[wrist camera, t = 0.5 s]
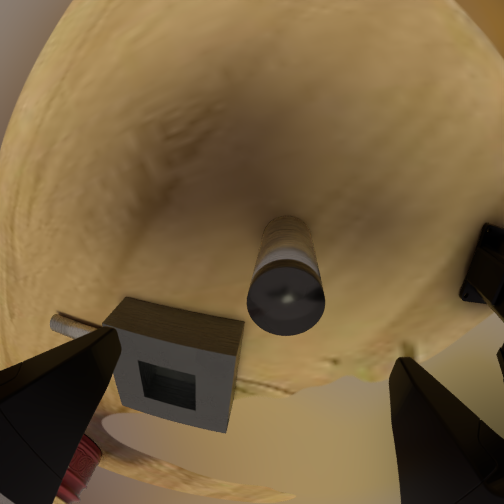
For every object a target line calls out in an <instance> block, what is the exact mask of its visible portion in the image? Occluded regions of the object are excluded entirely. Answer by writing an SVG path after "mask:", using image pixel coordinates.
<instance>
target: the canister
mask: <svg viewBox="0 0 504 504" xmlns="http://www.w3.org/2000/svg"><path fill="white" fill-rule="evenodd" d="M101 455H102V453H101V451H100V449H99V448H98V447H97V446H96V444H95V443H94V442H93V441H91V440H90V439H89V438H88V437H87V436H86V435H83V437H82V439H81V441H80V443H79V445H78V447H77V449H76V451H75V453H74V456H73V458H72V460H71V462H70V464H69V467H68V469H67V471H66V473H65V475H64V478H63V479H62V483H61V485H60V487H59V490H58V492H57V494H56V497H55V499H54V502H53V504H71V503H72V502H80V497H79V496H80V494H81V492H82V490H83V489H86V488H87V484H88V482H89V480H90V478H91V476H92V474H93V472H94V470H95V468H96V466H98V465H99V462H100V460H101Z"/></svg>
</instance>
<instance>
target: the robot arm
mask: <svg viewBox="0 0 504 504" xmlns="http://www.w3.org/2000/svg"><path fill="white" fill-rule="evenodd" d="M488 228H489V231H488V232H487V230H488ZM465 294H466V295H465ZM464 295H465V296H464ZM459 297H460V298H461V299H462V300H463V301H467V302H475V303H483V304H488V305H489V307H490V308H491V309H492V310H493V311H494V312H495V313H496V314H497V315H498V316H499V318H500V319H501V320H502V321H503V322H504V228H501V227H498V226H495V225H492V224H489V223H486V224H485V225H484V226H483V228H482V232H481V235H480V238H479V242H478V245H477V248H476V251H475V254H474V257H473V260H472V263H471V265H470V268H469V271H468V273H467V276H466V279H465V281H464V284H463V286H462V289H461V291H460V294H459ZM121 351H122V347H121V343H120V340H119V336H118V333H117V330H116V329H115V328H113V327H108V326H103V327H101V328H99V329H97V330H94V331H92V332H90V333H87V334H85V335H83V336H81V337H78V338H76V339H74V340H71V341H69V342H67V343H65V344H62V345H60V346H58V347H55V348H53V349H51V350H49V351H46V352H44V353H42V354H39V355H37V356H35V357H32V358H30V359H28V360H25V361H23V362H21V363H18V364H16V365H14V366H11V367H9V368H6V369H4V370H1V371H0V504H53V502H54V499H55V497H56V494H57V492H58V490H59V487H60V485H61V483H62V479H63V478H64V475H65V473H66V471H67V469H68V467H69V464H70V462H71V460H72V458H73V456H74V453H75V451H76V449H77V447H78V445H79V443H80V441H81V439H82V437H83V435H84V432H85V430H86V428H87V426H88V424H89V422H90V420H91V418H92V416H93V414H94V412H95V410H96V408H97V407H98V405H99V403H100V401H101V399H102V397H103V395H104V393H105V391H106V389H107V387H108V384H109V382H110V380H111V377H112V374H113V372H114V370H115V367H116V365H117V362H118V360H119V357H120V355H121ZM497 357H498V361H499V364H500V368H501V371H502V374H503V377H504V343H503V346H502V347H501V348H500V349H499V350H498V352H497ZM503 381H504V379H503ZM389 391H390V404H391V422H392V430H393V436H394V443H395V450H396V457H397V465H398V474H399V482H400V494H401V504H504V439H503V438H502V437H500V436H499V435H498V434H497V433H495V432H494V431H493V430H492V429H491V428H490V427H489V426H488V425H486V424H485V423H484V422H483V421H482V420H480V418H479V417H478V416H477V415H475V414H474V413H473V412H472V411H471V410H470V409H469V408H468V407H467V406H465V405H464V404H463V403H462V402H461V401H460V400H459V399H458V398H457V397H455V396H454V395H453V394H452V393H451V392H450V391H449V390H447V389H446V388H445V387H444V386H443V385H442V384H441V383H440V382H438V381H437V380H436V379H435V378H434V377H433V376H432V375H431V374H429V373H428V372H427V371H426V370H425V369H424V368H423V367H421V366H420V365H419V364H418V363H417V362H416V361H414V360H413V359H412V358H411V357H399V358H398V359H397V360H396V362H395V365H394V367H393V369H392V372H391V374H390V377H389Z"/></svg>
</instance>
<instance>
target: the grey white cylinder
mask: <svg viewBox="0 0 504 504" xmlns="http://www.w3.org/2000/svg"><path fill="white" fill-rule="evenodd" d="M324 308H325V296H324V292H323V287H322V282H321V277H320V272H319V268H318V263H317V259H316V254H315V250H314V245H313V241H312V237H311V233H310V230H309V228H308V227H307V225H306V224H305V223H304V222H303V221H301V220H300V219H298V218H296V217H292V216H282V217H278V218H276V219H274V220H273V221H271V222H270V223H269V224H268V225H267V227H266V228H265V230H264V233H263V237H262V241H261V245H260V249H259V253H258V257H257V261H256V265H255V269H254V273H253V277H252V281H251V284H250V288H249V292H248V296H247V309H248V312H249V315H250V317H251V318H252V320H253V321H254V322H255V323H256V324H257V325H258V326H259V327H260V328H261V329H263V330H265V331H267V332H269V333H272V334H275V335H281V336H291V335H297V334H300V333H303V332H305V331H307V330H309V329H310V328H312V327H313V326H314V325H315V324H316V323H317V322H318V321H319V319H320V318H321V316H322V314H323V312H324Z"/></svg>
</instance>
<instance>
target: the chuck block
mask: <svg viewBox="0 0 504 504" xmlns="http://www.w3.org/2000/svg"><path fill="white" fill-rule="evenodd" d="M102 326H108V327H113V328H115V329H116V330H117V333H118V336H119V340H120V343H121V347H122V351H121V355H120V357H119V360H118V362H117V365H116V367H115V370H114V372H113V374H114V378H115V382H116V385H117V389H118V392H119V396H120V399H121V402H122V405H123V406H126V407H129V408H132V409H135V410H138V411H141V412H144V413H147V414H150V415H153V416H157V417H160V418H163V419H167V420H171V421H174V422H178V423H182V424H186V425H190V426H194V427H198V428H203V429H207V430H211V431H216V432H221V433H226V431H227V427H228V422H229V418H230V413H231V408H232V404H233V399H234V392H235V385H236V378H237V371H238V364H239V357H240V350H241V343H242V336H243V329H244V322H242V321H236V320H231V319H226V318H220V317H215V316H210V315H205V314H200V313H195V312H190V311H185V310H181V309H176V308H171V307H167V306H162V305H158V304H154V303H149V302H145V301H141V300H137V299H133V298H129V297H125V298H124V299H123V301H122V302H121V303H120V304H119V305H118V306H117V307H116V308H115V309H114V310H113V312H112V313H111V314H110V315H109V316H108V317H107V318H106V319H105V321H104V322H103V323H102ZM50 327H51V329H52V330H53V331H55V332H58V333H60V334H62V335H65V336H67V337H70V338H72V339H76V338H78V337H81V336H83V335H85V334H87V333H90V332H92V331H94V330H97V328H94V327H91V326H88V325H85V324H82V323H80V322H77V321H74V320H71V319H69V318H66V317H63V316H61V315H58V314H55V315H53V316H52V318H51V320H50Z"/></svg>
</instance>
